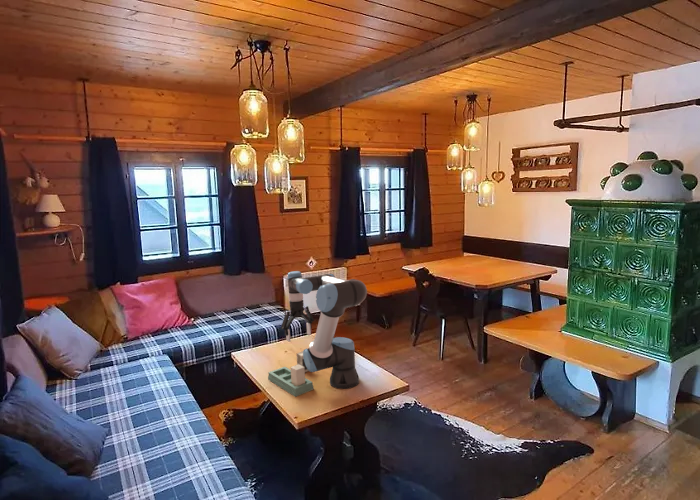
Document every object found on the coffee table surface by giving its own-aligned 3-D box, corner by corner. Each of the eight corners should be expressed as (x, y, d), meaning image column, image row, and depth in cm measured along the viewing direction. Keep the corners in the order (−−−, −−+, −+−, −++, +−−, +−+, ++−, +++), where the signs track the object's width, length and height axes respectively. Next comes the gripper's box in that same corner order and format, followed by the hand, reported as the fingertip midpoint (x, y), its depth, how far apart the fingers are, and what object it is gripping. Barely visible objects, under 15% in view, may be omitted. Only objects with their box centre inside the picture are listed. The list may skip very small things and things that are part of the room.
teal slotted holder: (313, 389, 219) (312, 366, 217) (295, 396, 212) (293, 373, 210) (286, 373, 239) (284, 352, 237) (268, 379, 232) (266, 358, 230)
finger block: (310, 370, 240) (309, 353, 239) (303, 373, 237) (302, 356, 236) (305, 367, 245) (303, 350, 243) (297, 370, 242) (296, 353, 240)
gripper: (310, 294, 247) (313, 330, 250) (272, 303, 231) (275, 342, 234) (318, 296, 241) (321, 333, 244) (280, 305, 225) (283, 345, 228)
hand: (298, 337), depth 239 cm, fingers open, 13 cm apart
